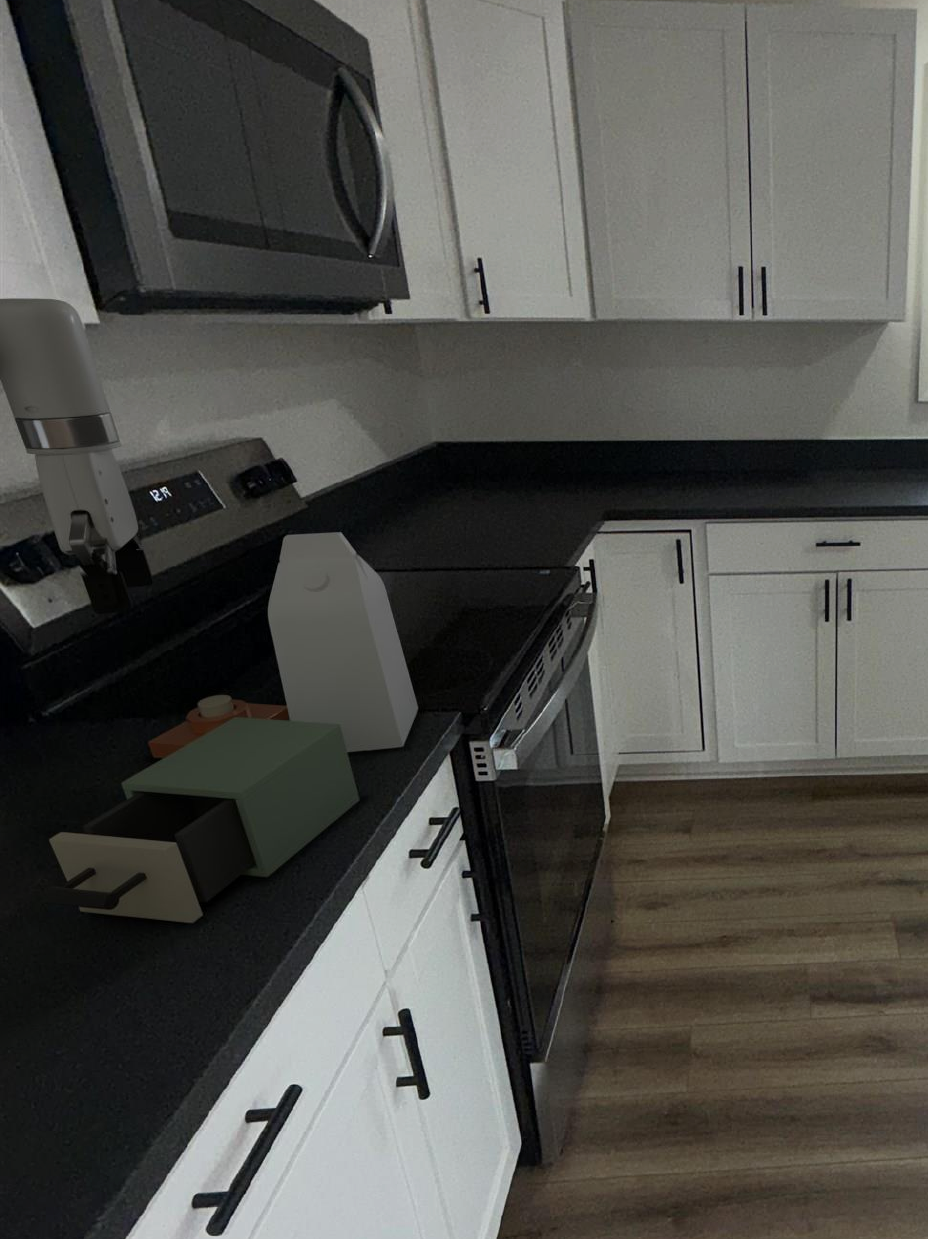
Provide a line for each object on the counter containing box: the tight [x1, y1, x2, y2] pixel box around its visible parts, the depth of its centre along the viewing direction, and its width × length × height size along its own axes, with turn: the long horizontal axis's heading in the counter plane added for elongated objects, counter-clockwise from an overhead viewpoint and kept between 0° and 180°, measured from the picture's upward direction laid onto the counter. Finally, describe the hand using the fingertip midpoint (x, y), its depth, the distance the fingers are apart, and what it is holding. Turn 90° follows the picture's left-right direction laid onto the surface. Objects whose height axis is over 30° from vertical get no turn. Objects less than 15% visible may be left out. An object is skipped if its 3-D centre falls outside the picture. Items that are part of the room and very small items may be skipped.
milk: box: [267, 531, 419, 753], centre depth 109 cm, size 12×12×26 cm
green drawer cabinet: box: [120, 717, 360, 878], centre depth 91 cm, size 15×13×10 cm
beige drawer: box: [40, 791, 256, 924], centre depth 81 cm, size 18×11×8 cm, turn 172°
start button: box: [197, 694, 235, 718], centre depth 111 cm, size 4×4×2 cm
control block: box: [147, 699, 290, 759], centre depth 112 cm, size 12×10×4 cm
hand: (126, 598), depth 95 cm, fingers open, 9 cm apart
